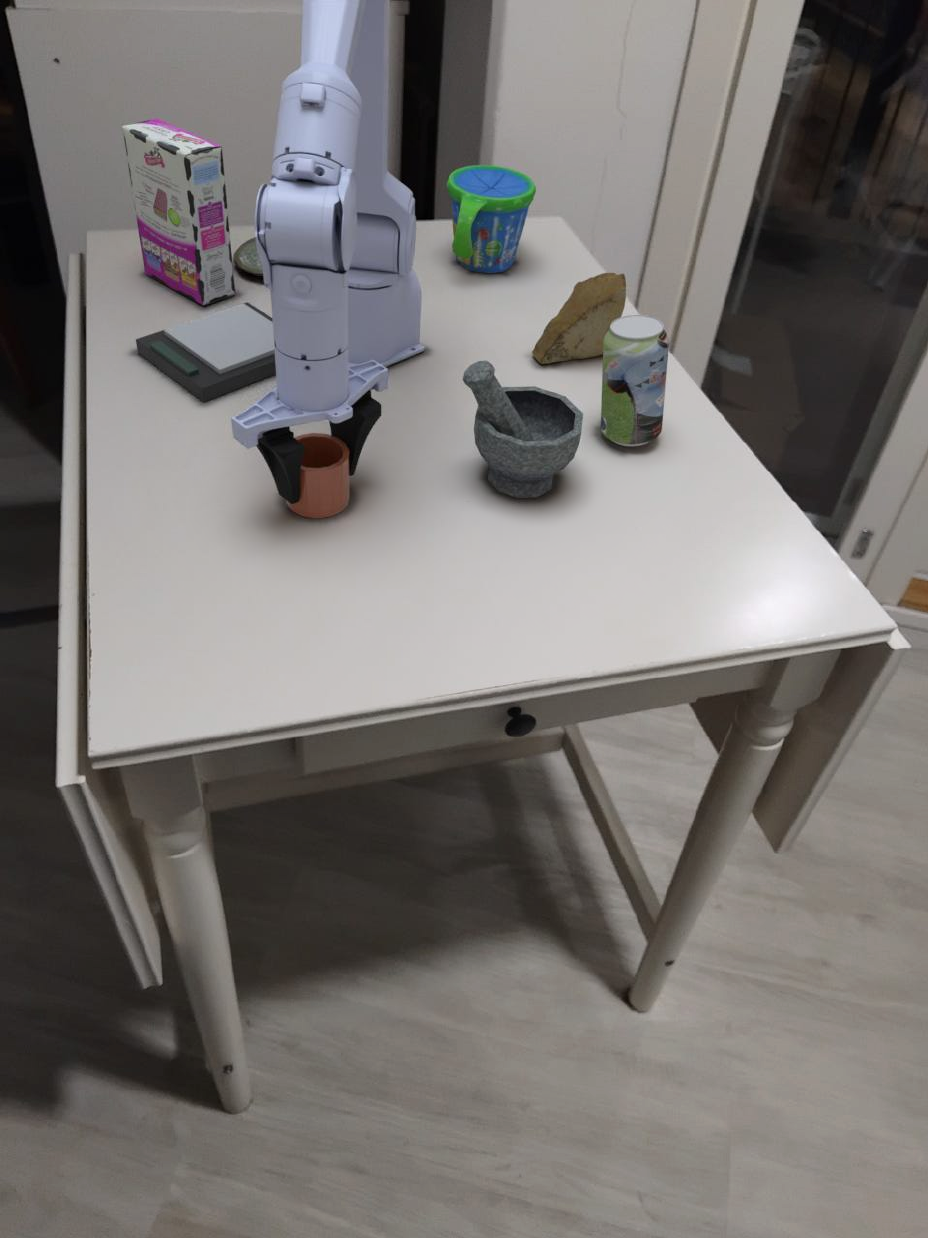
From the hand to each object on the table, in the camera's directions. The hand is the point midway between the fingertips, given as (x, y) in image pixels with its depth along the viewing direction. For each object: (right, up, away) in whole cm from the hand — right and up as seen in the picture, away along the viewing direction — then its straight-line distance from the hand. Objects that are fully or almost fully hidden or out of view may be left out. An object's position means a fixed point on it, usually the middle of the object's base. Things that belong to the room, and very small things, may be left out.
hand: (316, 484), depth 83 cm
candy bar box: (-19, +27, +28) cm, 43 cm away
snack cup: (+15, +34, +38) cm, 53 cm away
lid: (-10, +31, +33) cm, 46 cm away
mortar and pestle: (+18, +1, +6) cm, 18 cm away
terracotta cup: (0, -1, +1) cm, 2 cm away
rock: (+25, +18, +24) cm, 39 cm away
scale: (-12, +16, +17) cm, 26 cm away
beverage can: (+29, +7, +12) cm, 32 cm away
